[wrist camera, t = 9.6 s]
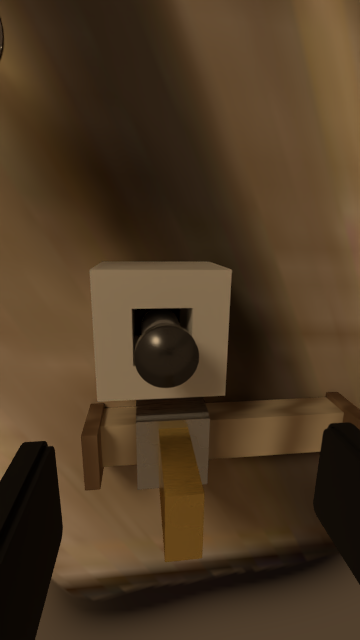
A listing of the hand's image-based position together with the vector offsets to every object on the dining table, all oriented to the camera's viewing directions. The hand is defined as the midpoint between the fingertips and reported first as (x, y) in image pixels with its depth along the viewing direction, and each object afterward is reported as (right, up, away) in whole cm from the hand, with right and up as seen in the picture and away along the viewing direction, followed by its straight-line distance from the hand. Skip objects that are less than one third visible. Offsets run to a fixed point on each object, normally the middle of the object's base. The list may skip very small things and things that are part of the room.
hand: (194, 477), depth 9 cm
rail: (+3, -5, +22) cm, 23 cm away
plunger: (-2, +4, +15) cm, 16 cm away
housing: (-2, +5, +19) cm, 20 cm away
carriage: (-2, -6, +22) cm, 23 cm away
